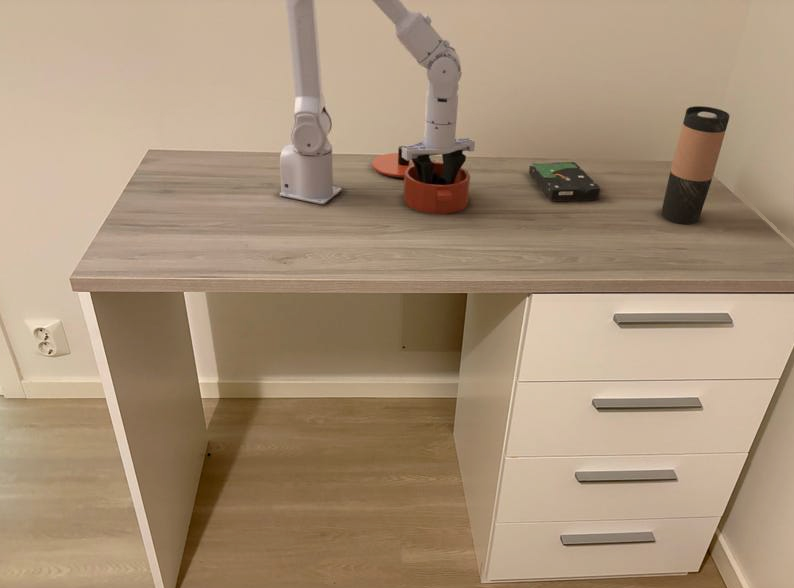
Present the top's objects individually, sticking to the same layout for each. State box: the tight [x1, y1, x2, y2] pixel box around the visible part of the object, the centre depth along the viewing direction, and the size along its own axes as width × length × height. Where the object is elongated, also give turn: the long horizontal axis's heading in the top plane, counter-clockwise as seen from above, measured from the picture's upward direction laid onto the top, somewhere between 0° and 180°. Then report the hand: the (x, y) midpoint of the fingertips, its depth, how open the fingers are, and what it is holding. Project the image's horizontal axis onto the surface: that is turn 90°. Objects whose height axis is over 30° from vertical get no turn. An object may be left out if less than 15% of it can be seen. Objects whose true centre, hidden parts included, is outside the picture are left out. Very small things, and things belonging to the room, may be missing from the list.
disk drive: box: [528, 161, 602, 202], centre depth 148 cm, size 10×3×15 cm
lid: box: [371, 145, 433, 178], centre depth 152 cm, size 13×13×4 cm
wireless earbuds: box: [431, 172, 446, 185], centre depth 138 cm, size 7×2×5 cm, turn 30°
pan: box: [403, 160, 471, 215], centre depth 138 cm, size 12×18×6 cm
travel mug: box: [660, 105, 730, 225], centre depth 134 cm, size 8×8×20 cm
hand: (436, 191), depth 139 cm, fingers open, 4 cm apart
